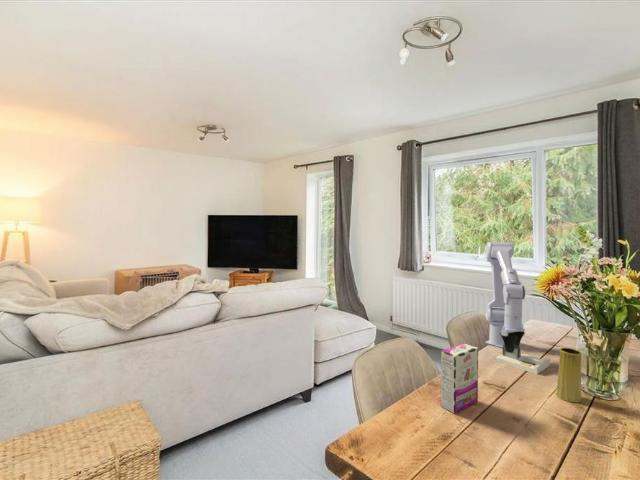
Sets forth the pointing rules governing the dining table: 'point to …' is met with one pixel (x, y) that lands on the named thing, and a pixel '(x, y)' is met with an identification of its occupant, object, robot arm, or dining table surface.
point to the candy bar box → (459, 377)
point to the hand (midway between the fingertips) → (511, 350)
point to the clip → (515, 353)
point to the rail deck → (520, 364)
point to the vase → (569, 375)
